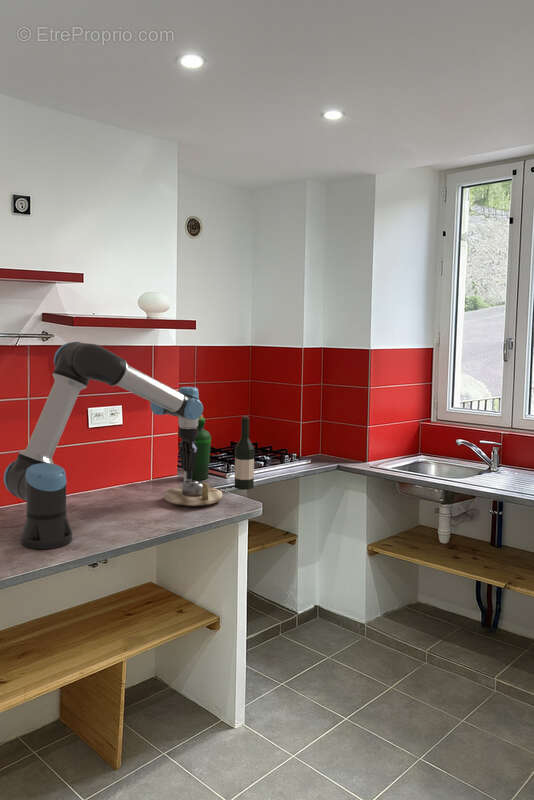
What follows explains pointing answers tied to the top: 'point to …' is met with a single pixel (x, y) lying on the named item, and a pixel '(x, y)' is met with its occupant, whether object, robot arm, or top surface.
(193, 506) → the turntable base
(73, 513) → the top surface
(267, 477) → the top surface
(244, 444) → the wine bottle
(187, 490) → the cover
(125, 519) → the top surface
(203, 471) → the bottle
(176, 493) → the turntable
